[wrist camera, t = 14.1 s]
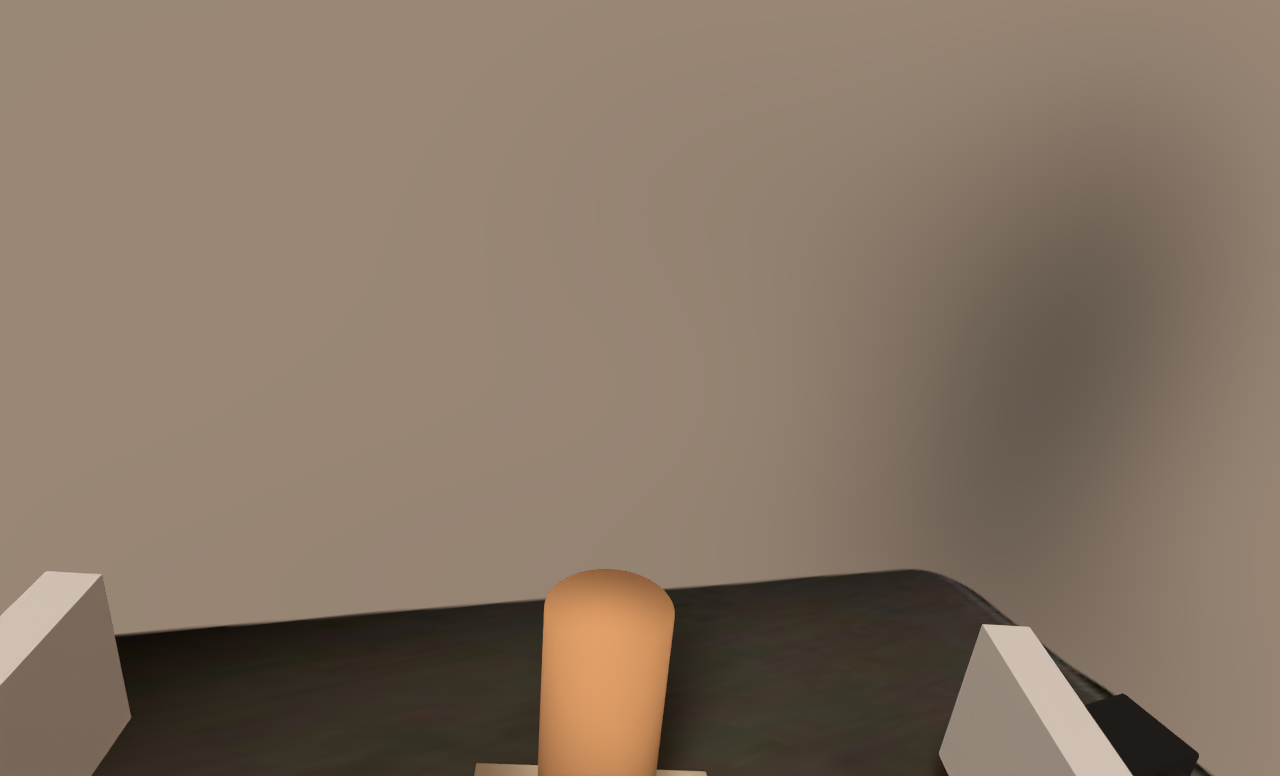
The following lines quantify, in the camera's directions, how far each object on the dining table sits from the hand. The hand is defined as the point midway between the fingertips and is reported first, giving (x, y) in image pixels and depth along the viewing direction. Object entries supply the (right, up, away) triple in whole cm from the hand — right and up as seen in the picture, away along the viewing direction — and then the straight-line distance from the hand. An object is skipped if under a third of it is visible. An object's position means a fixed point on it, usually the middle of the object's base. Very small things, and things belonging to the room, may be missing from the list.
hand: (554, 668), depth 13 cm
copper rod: (-1, -18, +25) cm, 30 cm away
